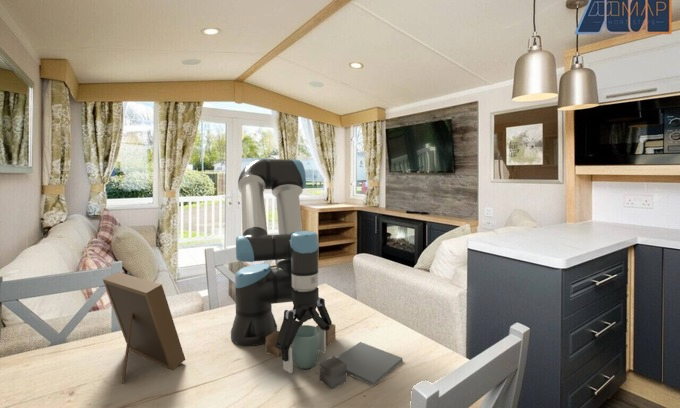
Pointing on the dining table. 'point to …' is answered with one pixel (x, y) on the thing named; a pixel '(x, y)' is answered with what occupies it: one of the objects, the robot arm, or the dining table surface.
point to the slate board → (368, 362)
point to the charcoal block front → (332, 372)
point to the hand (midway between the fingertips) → (305, 360)
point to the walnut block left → (330, 334)
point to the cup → (306, 346)
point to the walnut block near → (273, 344)
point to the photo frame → (144, 319)
